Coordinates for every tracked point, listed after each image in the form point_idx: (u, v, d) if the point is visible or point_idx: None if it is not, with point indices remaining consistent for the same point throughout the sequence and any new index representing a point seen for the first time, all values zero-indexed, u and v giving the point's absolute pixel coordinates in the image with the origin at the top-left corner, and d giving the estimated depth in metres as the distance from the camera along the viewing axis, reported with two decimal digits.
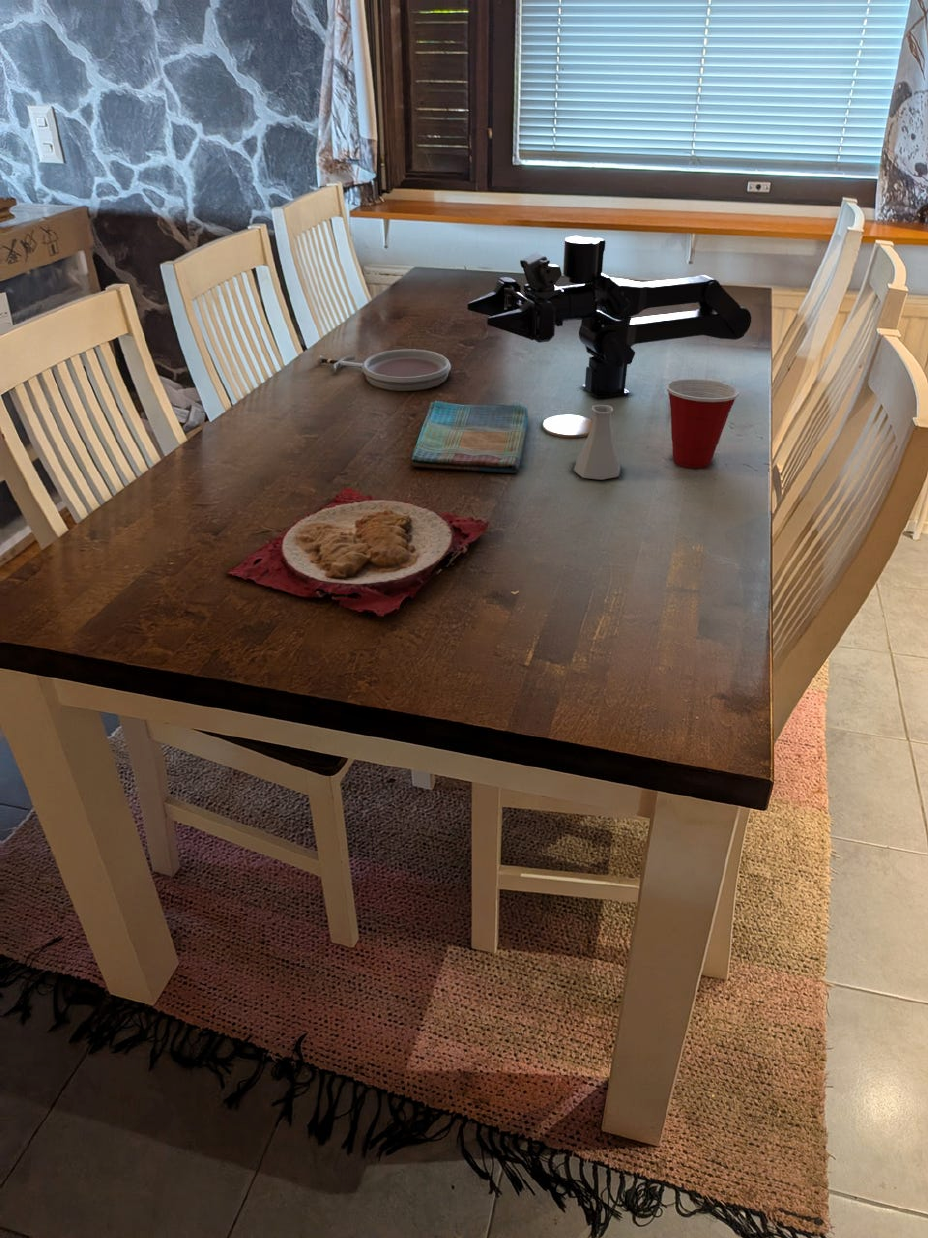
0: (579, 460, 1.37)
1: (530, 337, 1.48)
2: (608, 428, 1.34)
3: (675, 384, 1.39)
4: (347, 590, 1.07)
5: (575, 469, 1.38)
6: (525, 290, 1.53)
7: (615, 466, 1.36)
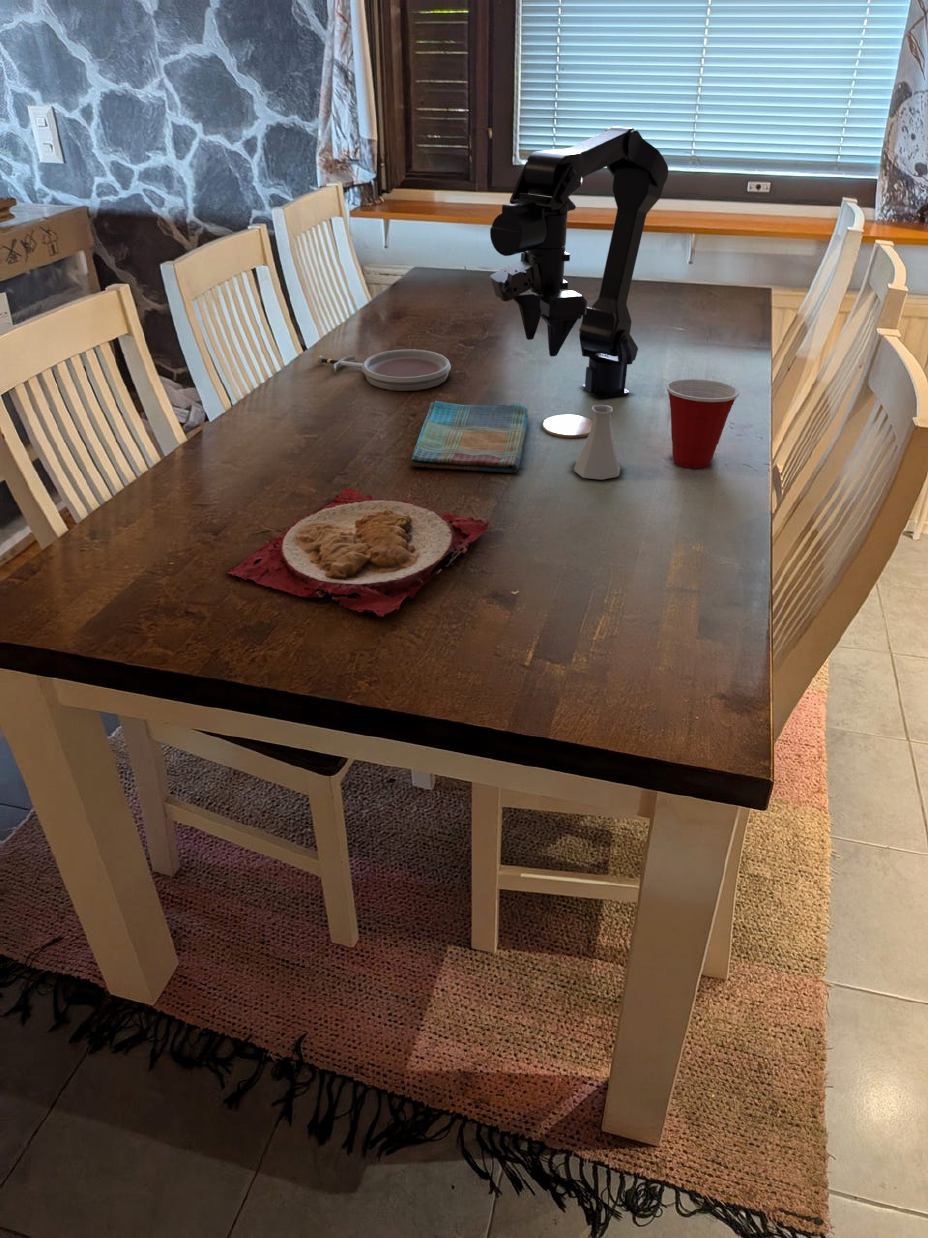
0: (579, 460, 1.37)
1: None
2: (608, 428, 1.34)
3: (675, 384, 1.39)
4: (347, 590, 1.07)
5: (575, 469, 1.38)
6: None
7: (615, 466, 1.36)
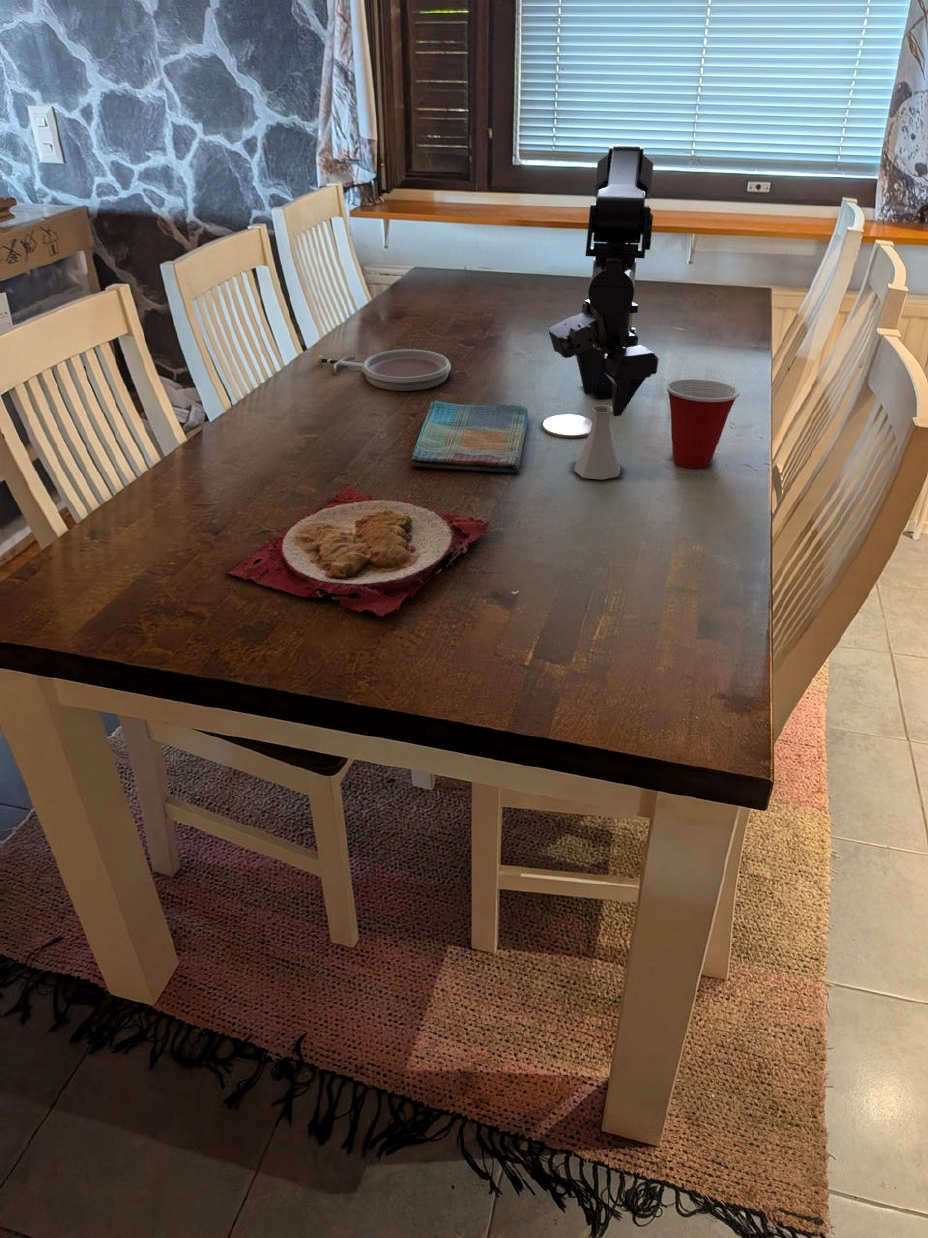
0: (579, 460, 1.37)
1: None
2: (608, 428, 1.34)
3: (675, 384, 1.39)
4: (347, 590, 1.07)
5: (575, 469, 1.38)
6: None
7: (615, 466, 1.36)
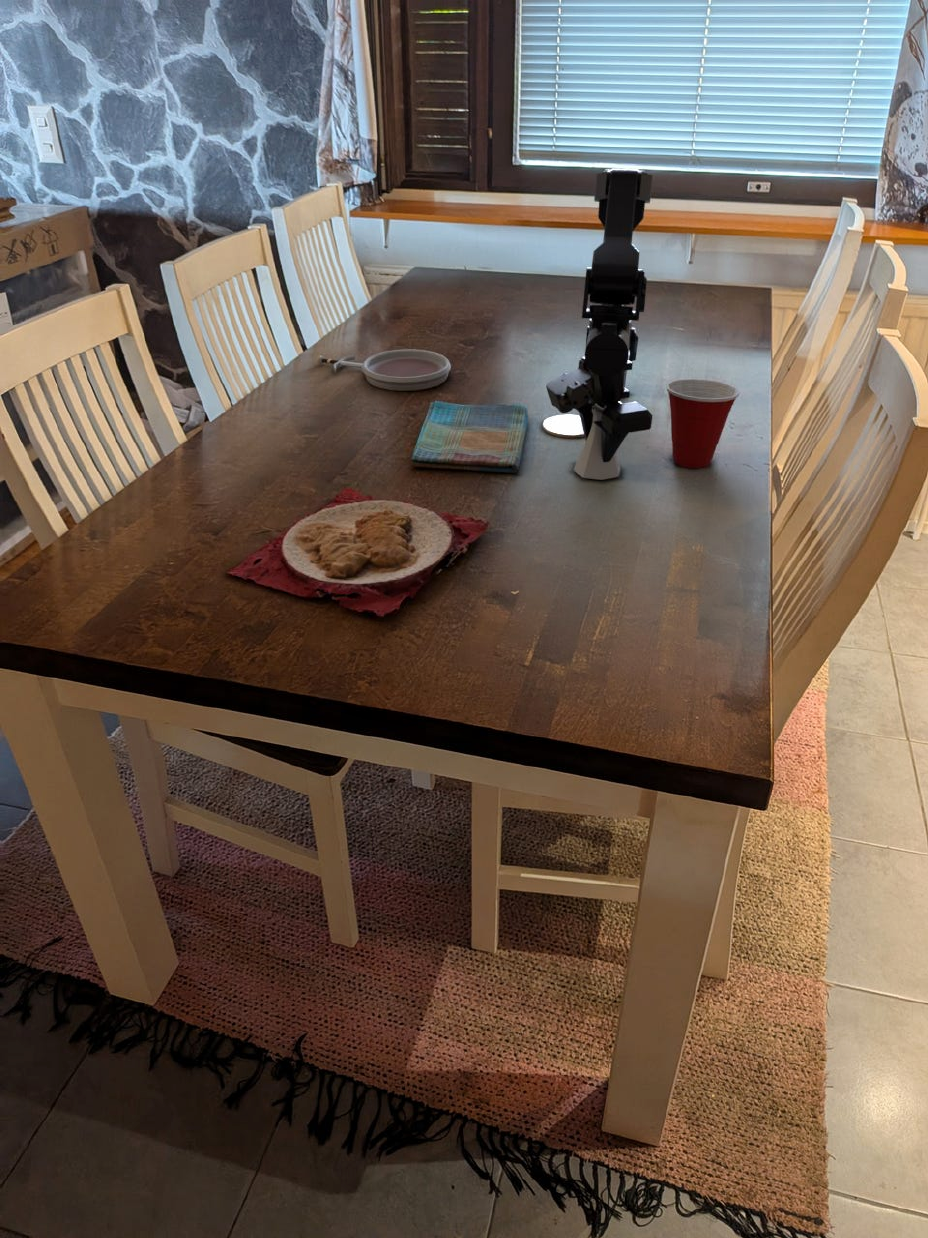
0: (579, 460, 1.37)
1: None
2: None
3: (675, 384, 1.39)
4: (347, 590, 1.07)
5: (575, 469, 1.38)
6: None
7: (615, 466, 1.36)
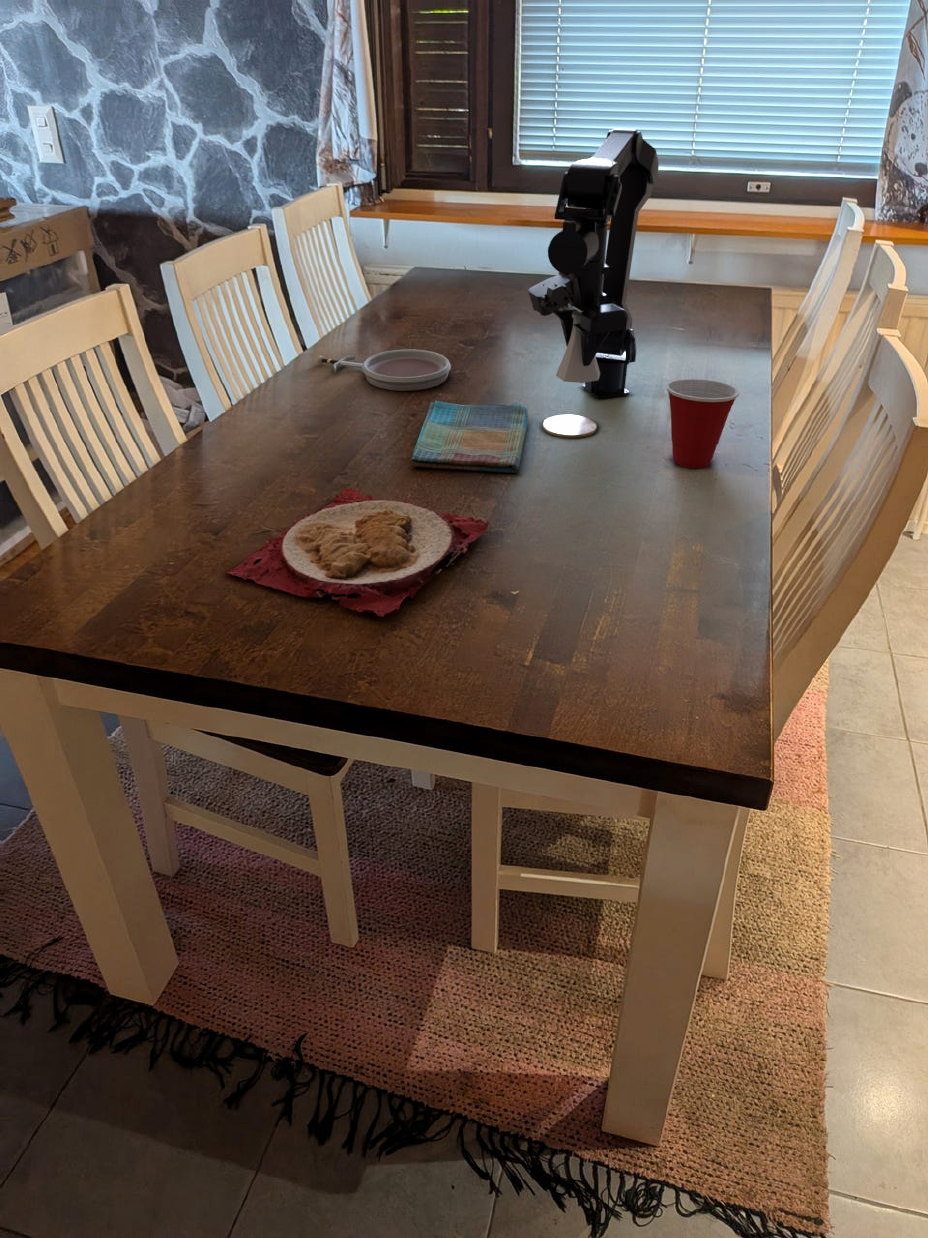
0: (561, 365, 1.44)
1: None
2: None
3: (675, 384, 1.39)
4: (347, 590, 1.07)
5: (557, 374, 1.45)
6: None
7: (595, 370, 1.43)
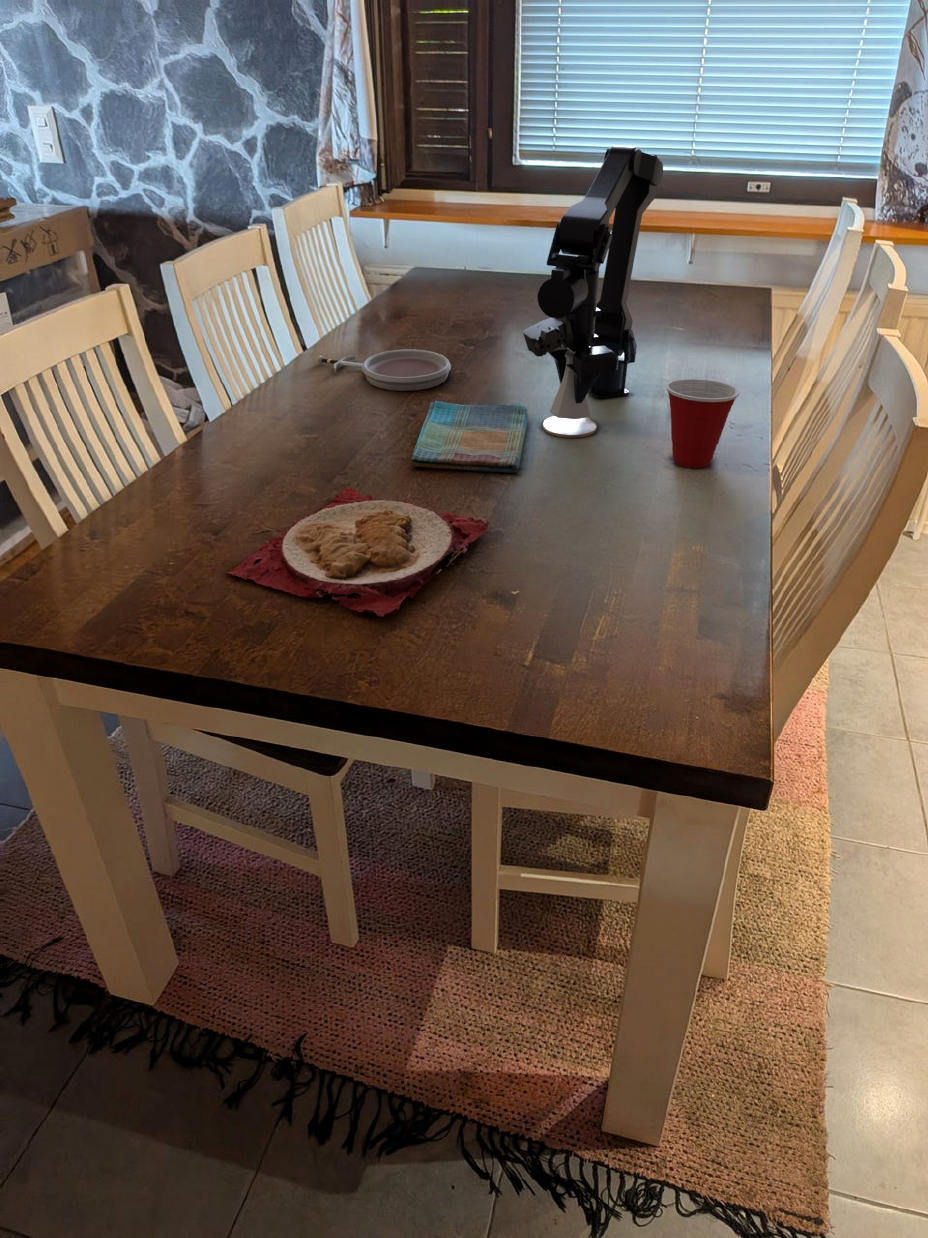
0: (554, 402, 1.50)
1: None
2: None
3: (675, 384, 1.39)
4: (347, 590, 1.07)
5: (551, 410, 1.51)
6: None
7: (587, 407, 1.49)
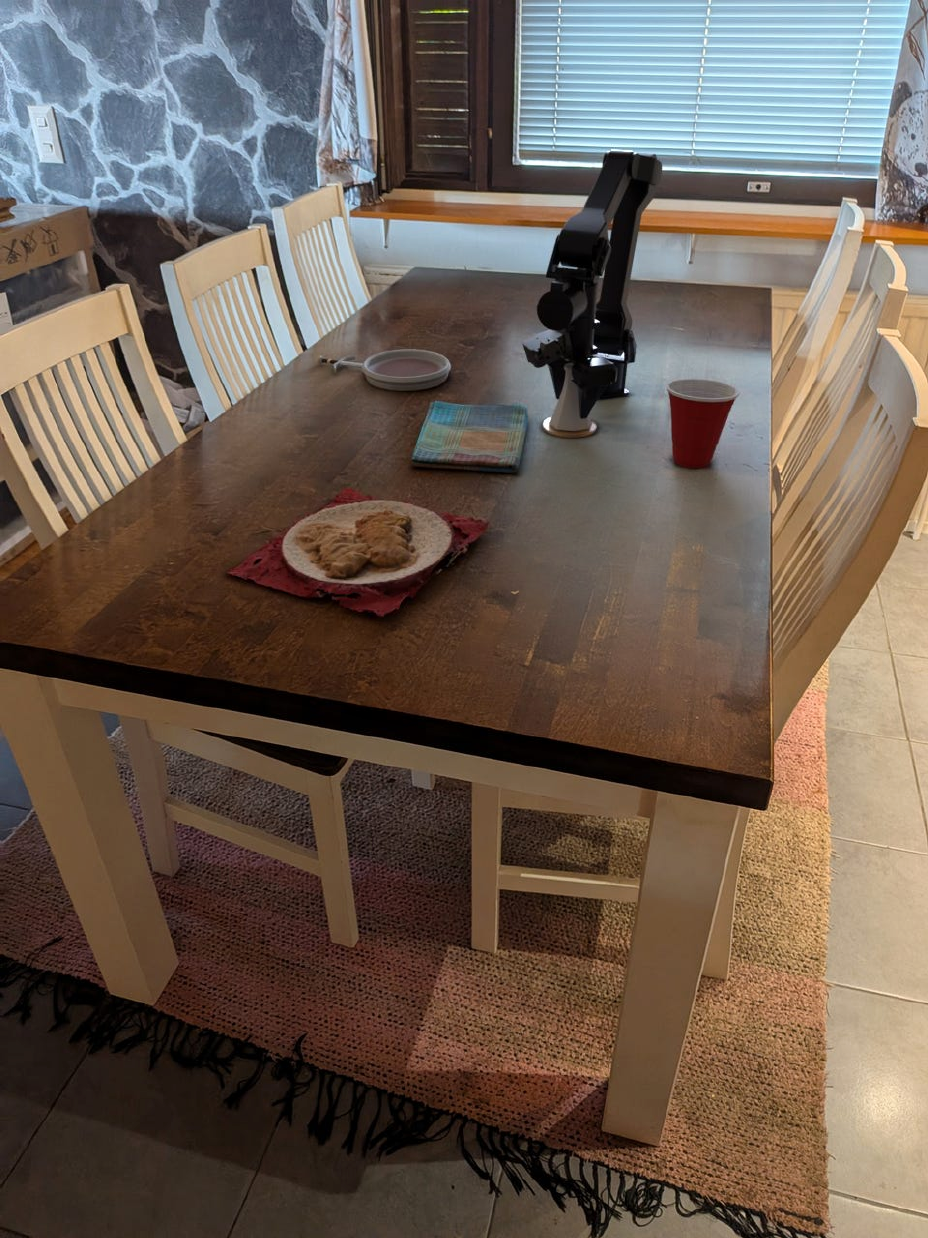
0: (553, 414, 1.51)
1: None
2: None
3: (675, 384, 1.39)
4: (347, 590, 1.07)
5: (550, 422, 1.52)
6: None
7: (586, 419, 1.50)
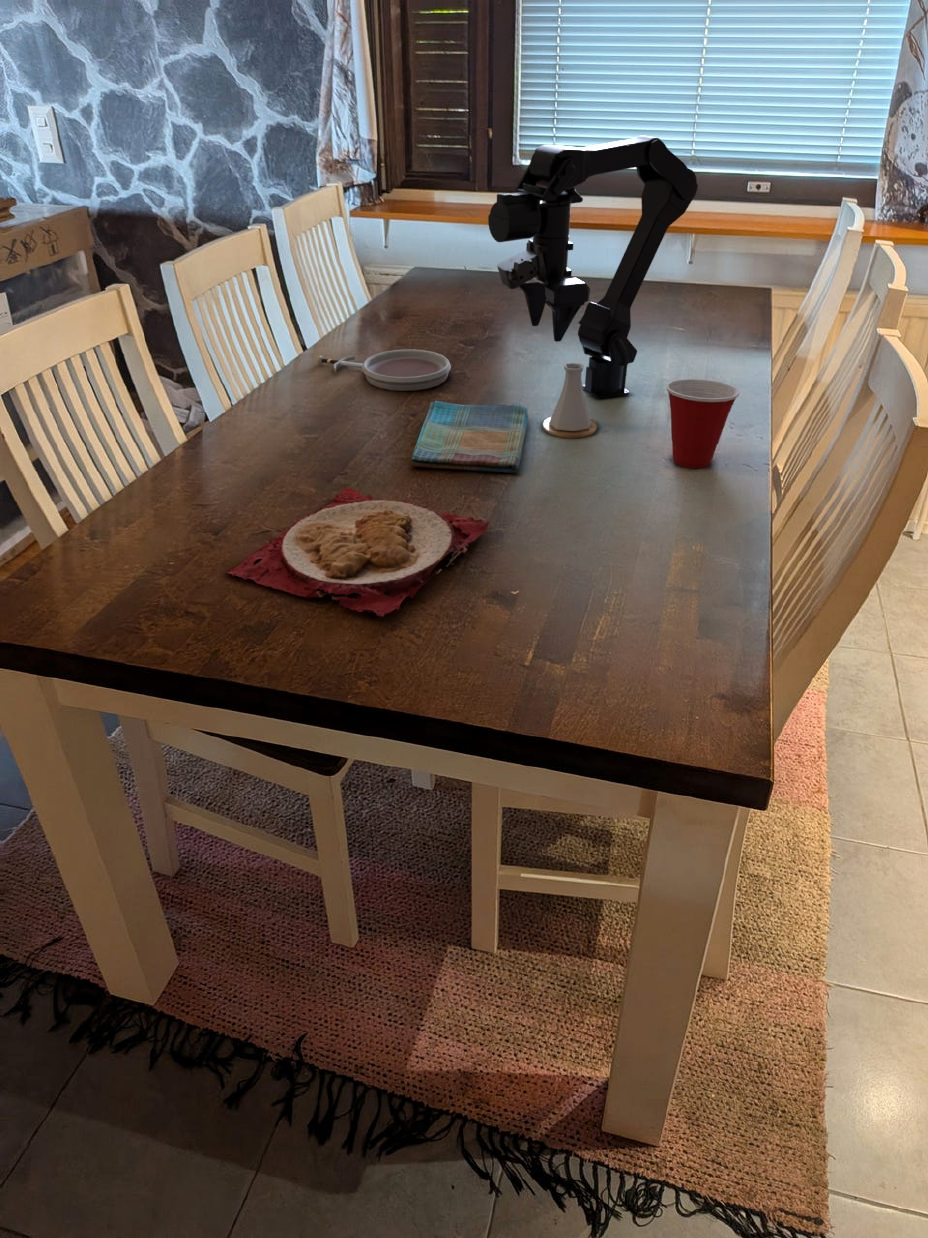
0: (553, 414, 1.51)
1: None
2: (579, 384, 1.48)
3: (675, 384, 1.39)
4: (347, 590, 1.07)
5: (550, 422, 1.52)
6: None
7: (586, 419, 1.50)
